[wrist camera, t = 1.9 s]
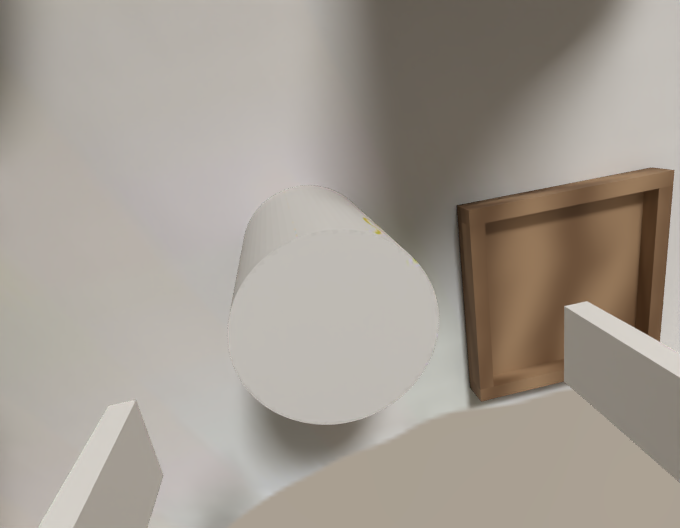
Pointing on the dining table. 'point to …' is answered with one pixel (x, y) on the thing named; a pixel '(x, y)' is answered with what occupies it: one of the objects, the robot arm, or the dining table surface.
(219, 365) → the dining table surface
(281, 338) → the grey upright rounded piece
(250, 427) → the dining table surface
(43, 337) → the dining table surface
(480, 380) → the tray
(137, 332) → the dining table surface
